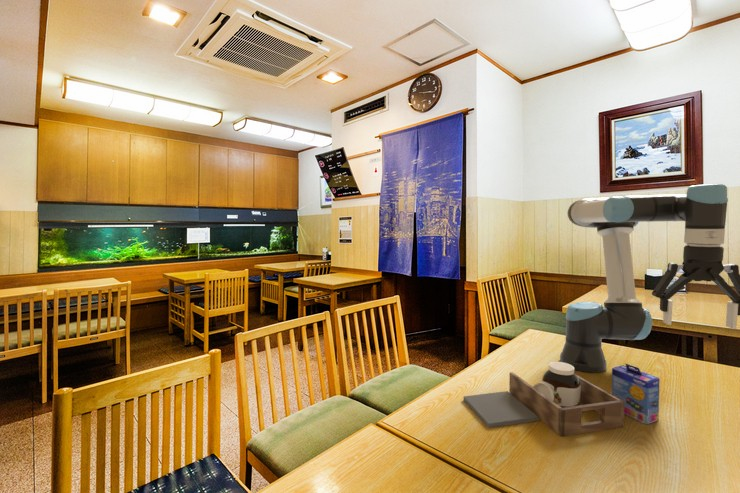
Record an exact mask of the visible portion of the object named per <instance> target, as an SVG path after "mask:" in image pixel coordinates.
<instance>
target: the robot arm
mask: <svg viewBox="0 0 740 493" xmlns="http://www.w3.org/2000/svg"><path fill="white" fill-rule="evenodd" d="M728 201H729V198H728V187H727V185H725V184H724V183H712V184H711V183H707V184H696V185H694V184H693V185H690V186H688V187H687V190H686V193H683V194H682V193H681V194H678V193H677V194H651V195H617V196H610V197H589V198H588V197H587V198H586V197H585V198H582V199H579V200H578V199H577V200H575V201H573V203H572V204H570V205H569V207H568V209H567V218H568V220H569V221H570V222H571V223H572V224H573V225H575V226H578V227H581V228H594V229H595V228H596V229H597V234H598V235H600V236H601V237H602V245H603V246H602V247H603V256H604V267H605V279H606V290H607V298H606V300H604V301H603V304H602V303H599V302H595V301H591V302H590V301H579V302H574V303H571V304H569V305H568V306H567V308H566V313H565V342H564V345H563V348H562V351H561V352H560V356H559V362H564V363H568V364H570V365H572V366H573V367H574V371H578V372H583V373H584V372H585V373H602V372H605V371H606V370H607V365H608V364H607V360H606V357H605V354H604V351H603V348H602V340H603V339H605V340H606V339H607V340H622V341H623V340H627V341H635V340H637V341H638V340H639V341H640V340H644V339H646V338H647V337H648V336H649V335H650V333H651V331H652V328H653V317H652V314H651V312H650V311H649V310H648V309H647V308H645V307H643V303H642V301H640V300H639V299H638V298H637V295H636V294H637V293H636V292H637V291H636V285H635V284H636V283H635V275H634V274H635V273H634V266H633V259H632V258H633V257H632V248H631V246H632V245H631V240H630V239H631V238H630V235H631V233H633V231H634V227H636V226H637V225H638V224H639V223H640V222H642V223H643V222H647V223H650V222H651V223H652V222H684V238H683V243H684V244H686V245H684V246H683V252H682V253H683V254H682V255H683V256H682V258H683V261H682V263H681V264H679V263H675V262H668V264H667V267H666V271H665V273H664V274H663V275H662V277H661V278H660V280H659V282H658V283H657V284H656V286H655V287H654V289H653V291H652V292H651V295H652V296H654V297H656V298H658V299H659V310H660V311H661V312H663V315H662V323H664V324H666V325H668V326H672V318H673V315H672V314H673V300H672V297H674V296H675V295H676V294H677V293H678V292H679V291H680V290H682V289H683V288H684V287H685V286H686V285H687V284H689V283H691V282H692V281H695V282H702V281H703V282H713V283H714V284H715V285H716V286H717V287H718V288H719V289H720V290H721V291H722V292H723V293H724V294H725V295H726V296H727V297H728V298H729V299H730V301H729V300H727V302H726V314H725V315H726V317H725V326H726V327H728V328H729V329H733V330H737V323H738V316H740V269H739V268H740V267H739V265H738V264H734V263H727V264H723V260H724V253H725V252H724V250H725V248H724V247H723V246H722V245H724V244H725V235H726V234H725V233H726V229H725V228H726V222H727V210H728V209H727V208H728ZM680 270H682V271H683V273H682V274H681V275H679V276H678V278H677V279H676V280H675V281H674V282H673V283H672V281H673V279H674V278H675V277H676V275H677V273H678V272H680ZM723 271H724V273H726V274H727V276H728V278H729V280H730V281H731V283H732V284H733V287H734V289H735V290H734V289H733V288H732V287H731V286H730V285H729V284H728V282H726V281H725V279H724V277H722V276H721V273H722V272H723ZM671 283H672V284H671ZM736 291H737V292H736Z"/></svg>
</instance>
